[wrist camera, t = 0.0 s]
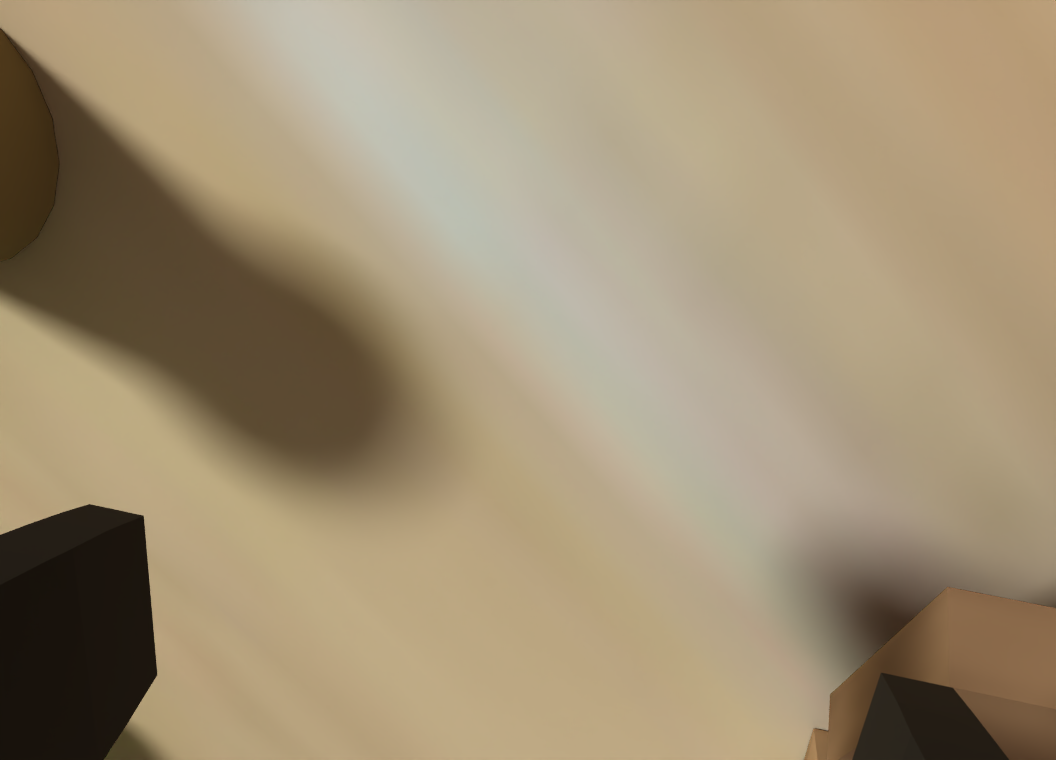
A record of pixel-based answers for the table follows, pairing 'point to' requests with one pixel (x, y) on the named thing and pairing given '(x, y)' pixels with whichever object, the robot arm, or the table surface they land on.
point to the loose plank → (967, 671)
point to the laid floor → (817, 746)
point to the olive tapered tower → (23, 154)
